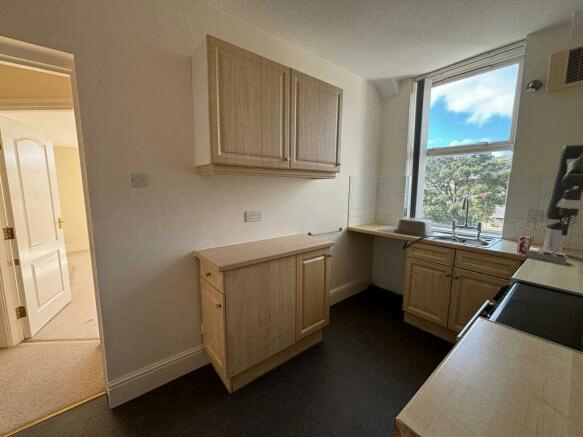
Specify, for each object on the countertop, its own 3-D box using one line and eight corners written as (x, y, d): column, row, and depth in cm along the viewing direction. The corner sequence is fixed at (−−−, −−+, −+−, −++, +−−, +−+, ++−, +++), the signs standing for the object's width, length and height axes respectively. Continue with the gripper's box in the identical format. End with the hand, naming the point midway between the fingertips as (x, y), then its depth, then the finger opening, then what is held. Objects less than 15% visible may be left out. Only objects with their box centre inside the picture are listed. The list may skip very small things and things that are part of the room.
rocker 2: (556, 253, 156) (556, 252, 156) (565, 255, 153) (565, 253, 153) (555, 253, 153) (555, 251, 153) (564, 255, 149) (565, 253, 149)
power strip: (527, 255, 168) (529, 248, 167) (566, 262, 154) (568, 255, 153) (525, 257, 163) (526, 250, 162) (565, 264, 149) (566, 257, 148)
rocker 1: (531, 247, 166) (531, 246, 165) (539, 248, 163) (539, 247, 162) (528, 250, 162) (529, 249, 162) (537, 252, 159) (537, 250, 159)
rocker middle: (543, 251, 161) (543, 249, 161) (551, 253, 158) (552, 251, 158) (541, 251, 157) (542, 249, 157) (550, 252, 154) (551, 250, 154)
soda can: (523, 251, 177) (526, 235, 175) (532, 254, 170) (535, 237, 168) (513, 251, 177) (516, 235, 175) (521, 253, 171) (524, 237, 169)
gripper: (562, 206, 154) (556, 232, 157) (559, 207, 146) (553, 235, 149) (580, 207, 148) (574, 235, 151) (578, 208, 140) (572, 237, 143)
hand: (564, 235), depth 150 cm, fingers closed
